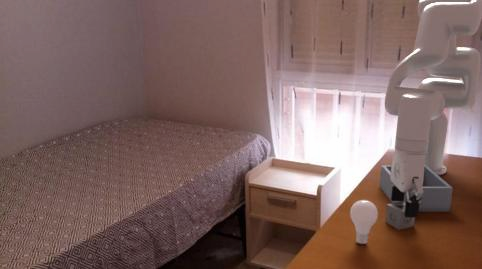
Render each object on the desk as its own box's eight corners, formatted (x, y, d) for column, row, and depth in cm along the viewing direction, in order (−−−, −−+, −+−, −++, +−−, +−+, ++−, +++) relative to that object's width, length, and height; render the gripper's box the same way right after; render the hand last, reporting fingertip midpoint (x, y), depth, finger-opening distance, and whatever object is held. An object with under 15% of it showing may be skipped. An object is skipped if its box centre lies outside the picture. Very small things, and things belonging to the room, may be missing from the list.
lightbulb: (375, 239, 111) (379, 197, 108) (374, 252, 105) (378, 208, 102) (349, 234, 113) (352, 194, 110) (346, 247, 107) (349, 204, 104)
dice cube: (385, 221, 120) (387, 204, 119) (399, 218, 122) (401, 201, 121) (399, 230, 116) (401, 212, 114) (413, 226, 118) (415, 208, 116)
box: (379, 186, 143) (381, 165, 141) (423, 186, 143) (426, 165, 141) (399, 211, 126) (401, 188, 124) (449, 211, 126) (452, 188, 124)
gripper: (384, 134, 120) (378, 195, 124) (409, 154, 103) (401, 223, 108) (413, 135, 120) (406, 195, 125) (441, 155, 103) (432, 223, 108)
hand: (403, 208), depth 116 cm, fingers open, 9 cm apart
